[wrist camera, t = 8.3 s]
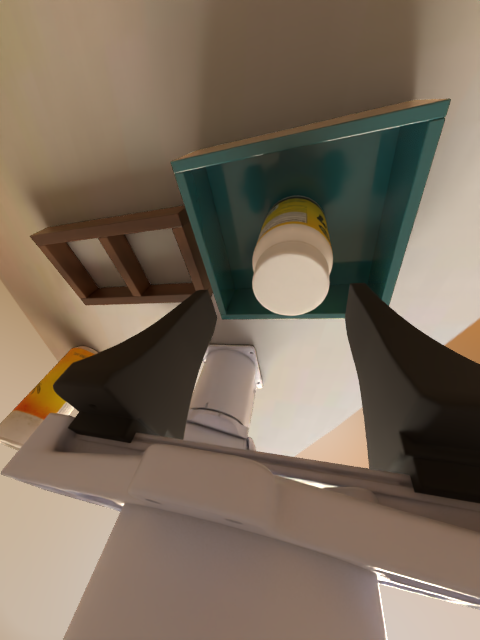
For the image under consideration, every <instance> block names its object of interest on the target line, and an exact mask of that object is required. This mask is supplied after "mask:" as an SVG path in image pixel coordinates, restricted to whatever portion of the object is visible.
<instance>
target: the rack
mask: <svg viewBox="0 0 480 640" xmlns="http://www.w3.org/2000/svg"><path fill="white" fill-rule="evenodd" d="M167 228H172V230H173V233H174V235H175V238H176V241H177V243H178V246H179V248H180V251H181V254H182V256H183V259H184V261H185V264H186V267H187V269H188V272H189V274H190V277H191V280H192V282H193V283H175V284H157V285H151V284H150V282H149V280H148V278H147V277H146V275H145V273H144V271H143V269H142V267H141V265H140V263H139V261H138V260H137V258H136V256H135V254H134V252H133V250H132V248H131V246H130V245H129V243H128V241H127V239H126V237H125V235H124V234H130V233H137V232H145V231H152V230H160V229H167ZM30 237H31V238H32V240H33V241H34V242H35V243H36V245H37V246H38V247H39V248H40V249H41V251H42V252H43V253H44V254H45V256H46V257H47V258H48V259H49V260H50V262H51V263H52V264H53V265H54V267H55V268H56V269H57V270H58V272H59V273H60V274H61V275H62V277H63V278H64V279H65V280H66V282H67V283H68V284H69V285H70V286H71V288H72V289H73V290H74V291H75V293H76V294H77V295H78V296H79V298H81V300H82V301H83V303H84V304H85V305H110V304H143V303H177V302H183V301H184V300H185V299H187V298H188V297H189V296H190V295H192V294H193V293H194V292H196V291H197V290H208V291H209V294H210V297H211V296H212V294H213V291H212V288H211V285H210V282H209V279H208V275H207V272H206V269H205V266H204V263H203V260H202V257H201V254H200V251H199V248H198V245H197V242H196V239H195V236H194V233H193V230H192V227H191V223H190V220H189V217H188V214H187V211H186V208H185V205H182V206H176V207H170V208H164V209H158V210H151V211H145V212H139V213H133V214H127V215H121V216H114V217H108V218H102V219H96V220H90V221H83V222H77V223H71V224H65V225H59V226H52V227H47V228H45V229H43V230H41V231H39V232H37V233H35V234H33V235H31V236H30ZM92 238H98V239H99V241H100V242H101V244H102V246H103V247H104V249H105V250H106V252H107V254H108V255H109V257H110V259H111V260H112V262H113V263H114V265H115V267H116V268H117V270H118V272H119V273H120V275H121V277H122V278H123V280H124V281H125V283H126V285H127V286H122V287H104V288H98V286H97V285H96V283H95V282H94V281H93V279H92V278H91V276H90V275H89V274H88V272H87V271H86V269H85V268H84V267H83V265H82V264H81V262H80V261H79V260H78V258H77V257H76V255H75V254H74V253H73V251H72V250H71V248H70V247H69V246H68V244H67V243H66V242H70V241H77V240H85V239H92Z"/></svg>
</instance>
